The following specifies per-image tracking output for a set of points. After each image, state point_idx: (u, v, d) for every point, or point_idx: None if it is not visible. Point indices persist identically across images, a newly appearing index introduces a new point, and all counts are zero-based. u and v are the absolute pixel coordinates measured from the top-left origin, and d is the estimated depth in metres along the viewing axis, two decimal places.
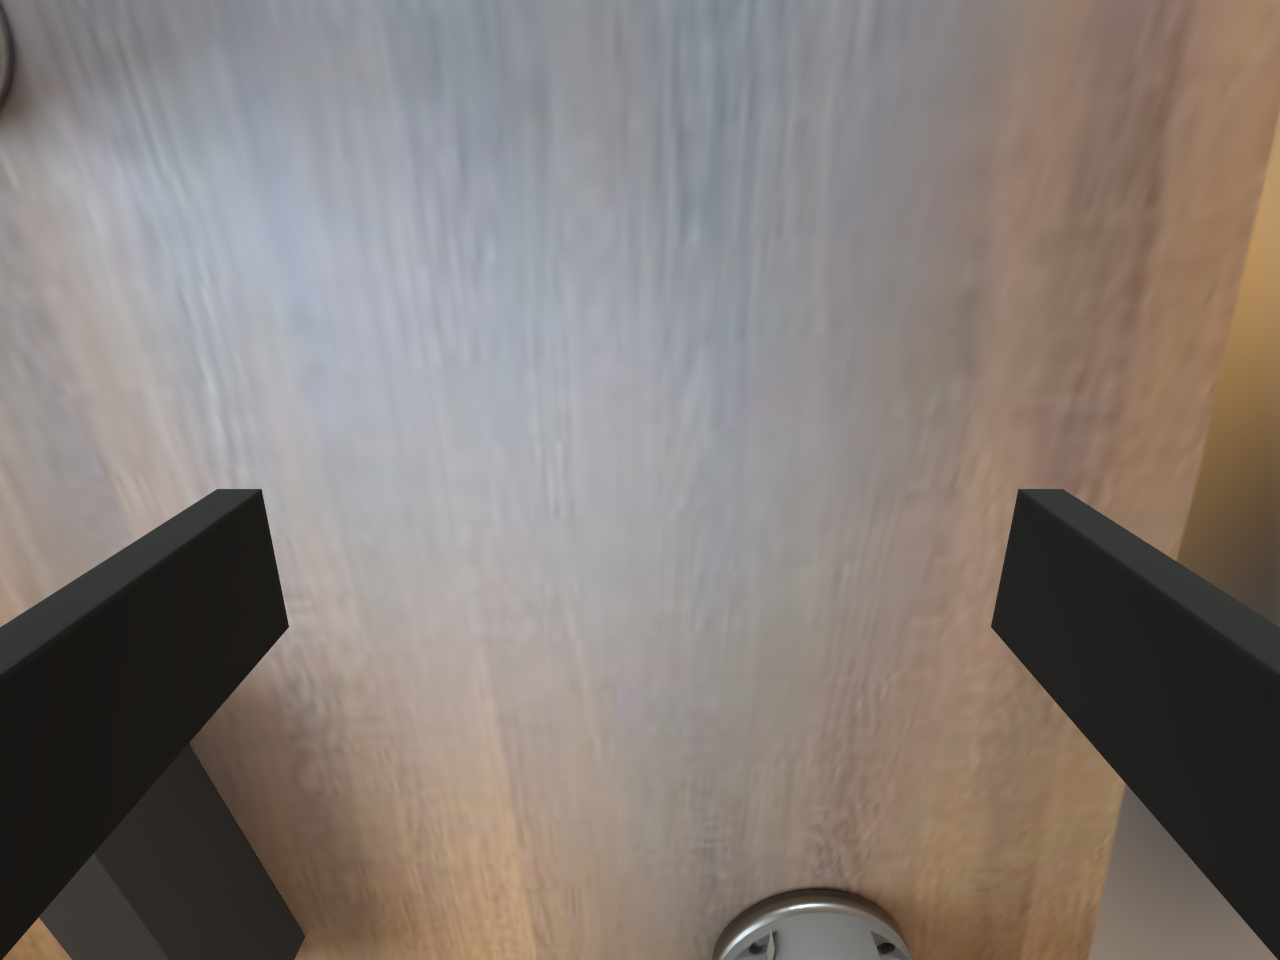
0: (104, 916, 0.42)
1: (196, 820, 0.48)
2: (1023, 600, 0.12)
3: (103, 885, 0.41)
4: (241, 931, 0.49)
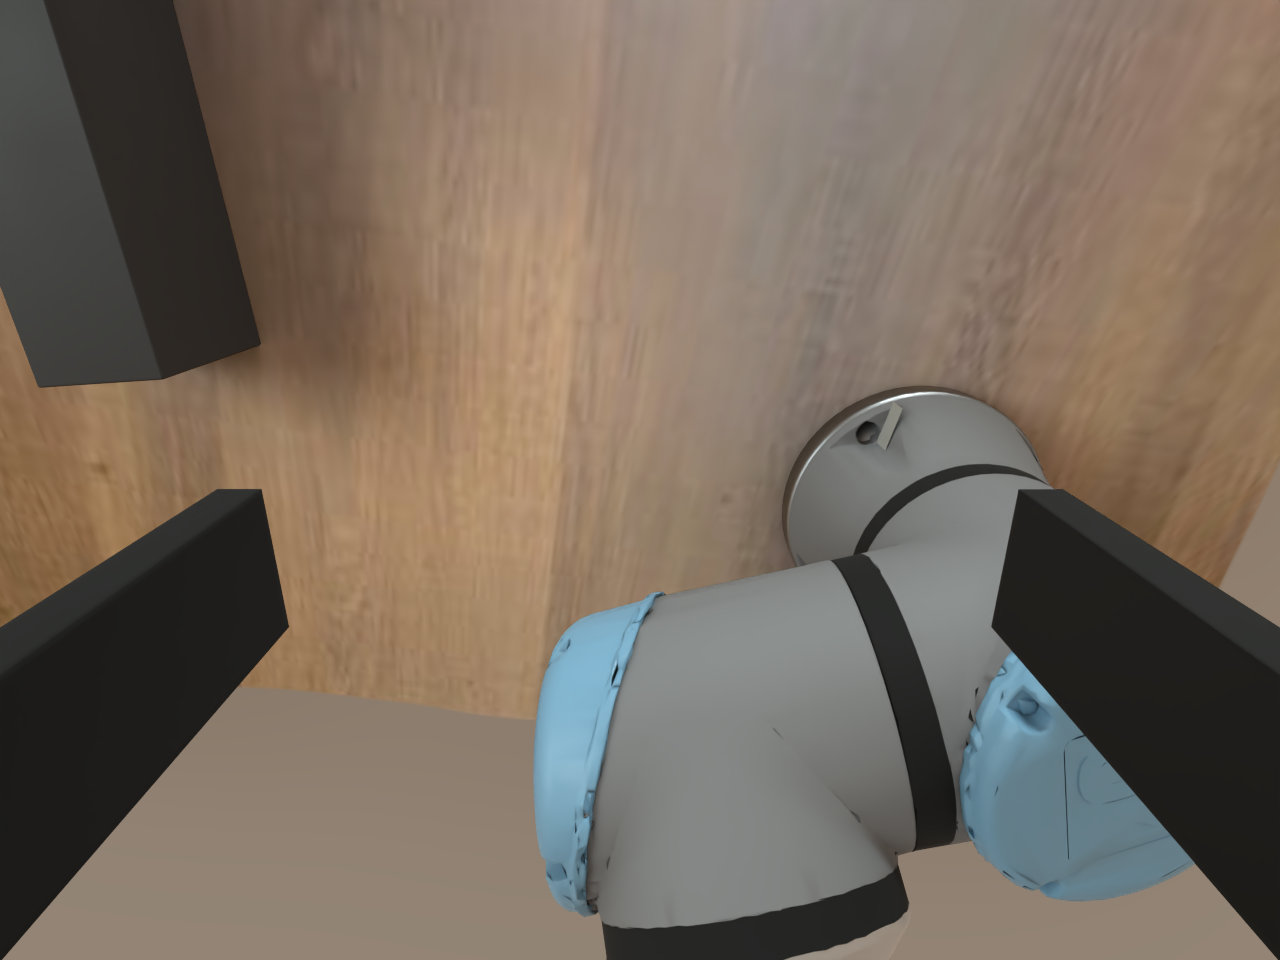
0: None
1: (152, 34, 0.33)
2: (1023, 600, 0.12)
3: None
4: (185, 231, 0.34)
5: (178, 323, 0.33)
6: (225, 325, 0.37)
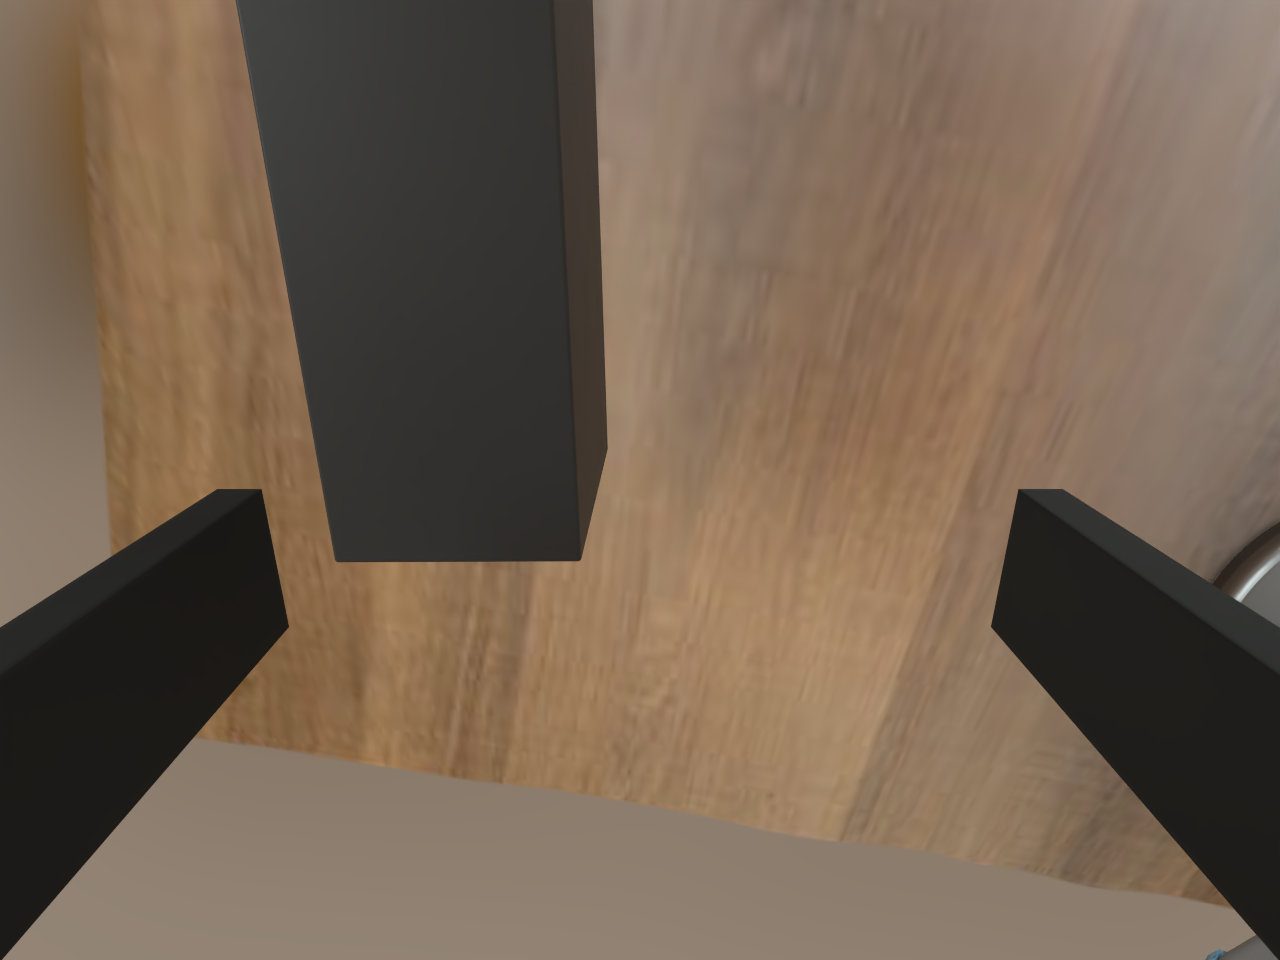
0: None
1: None
2: (1023, 600, 0.12)
3: None
4: (589, 272, 0.19)
5: (586, 445, 0.18)
6: (599, 430, 0.21)
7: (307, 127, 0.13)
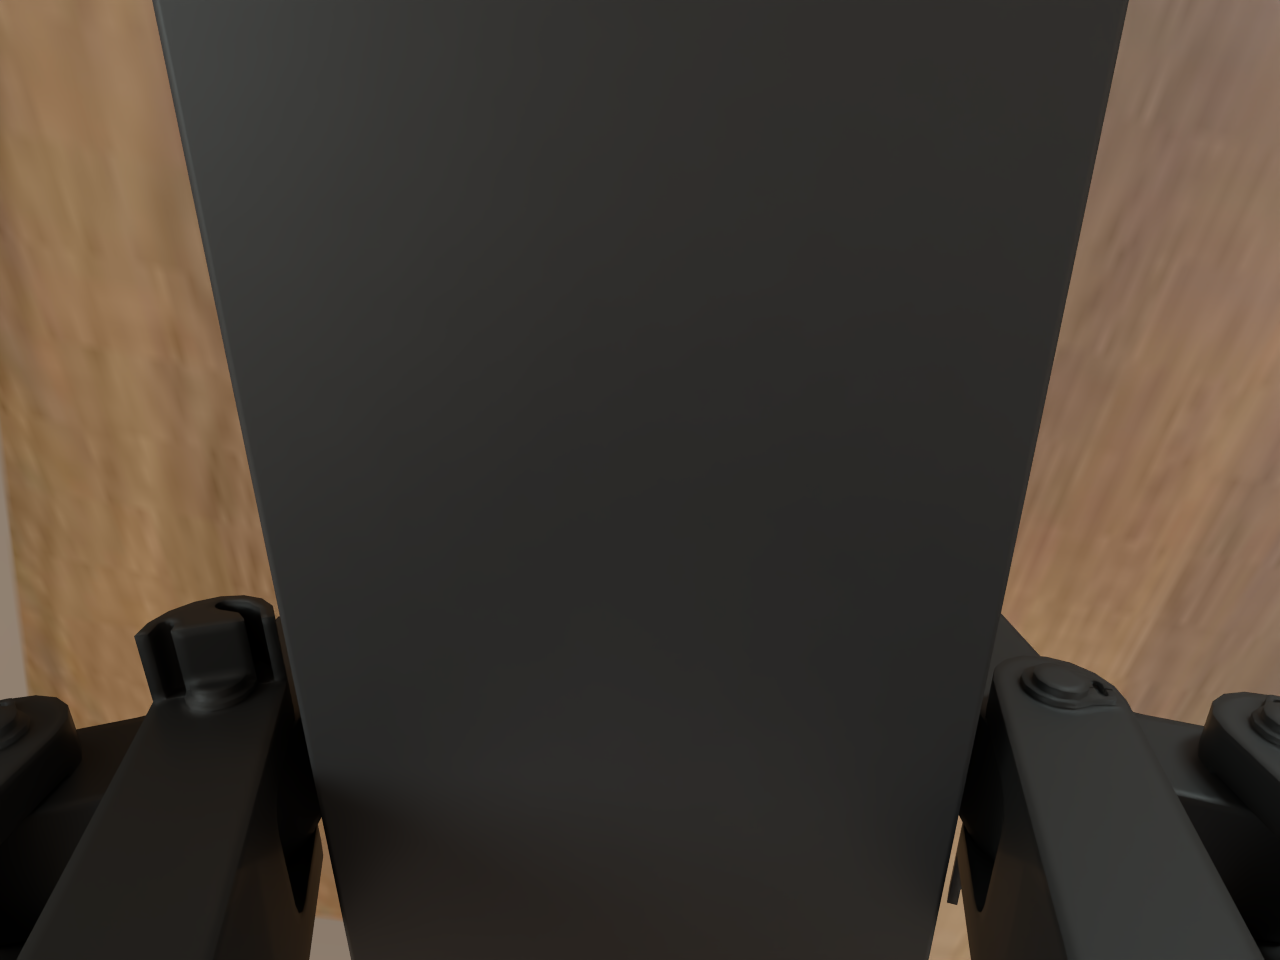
0: None
1: None
2: None
3: None
4: None
5: None
6: None
7: (330, 118, 0.04)
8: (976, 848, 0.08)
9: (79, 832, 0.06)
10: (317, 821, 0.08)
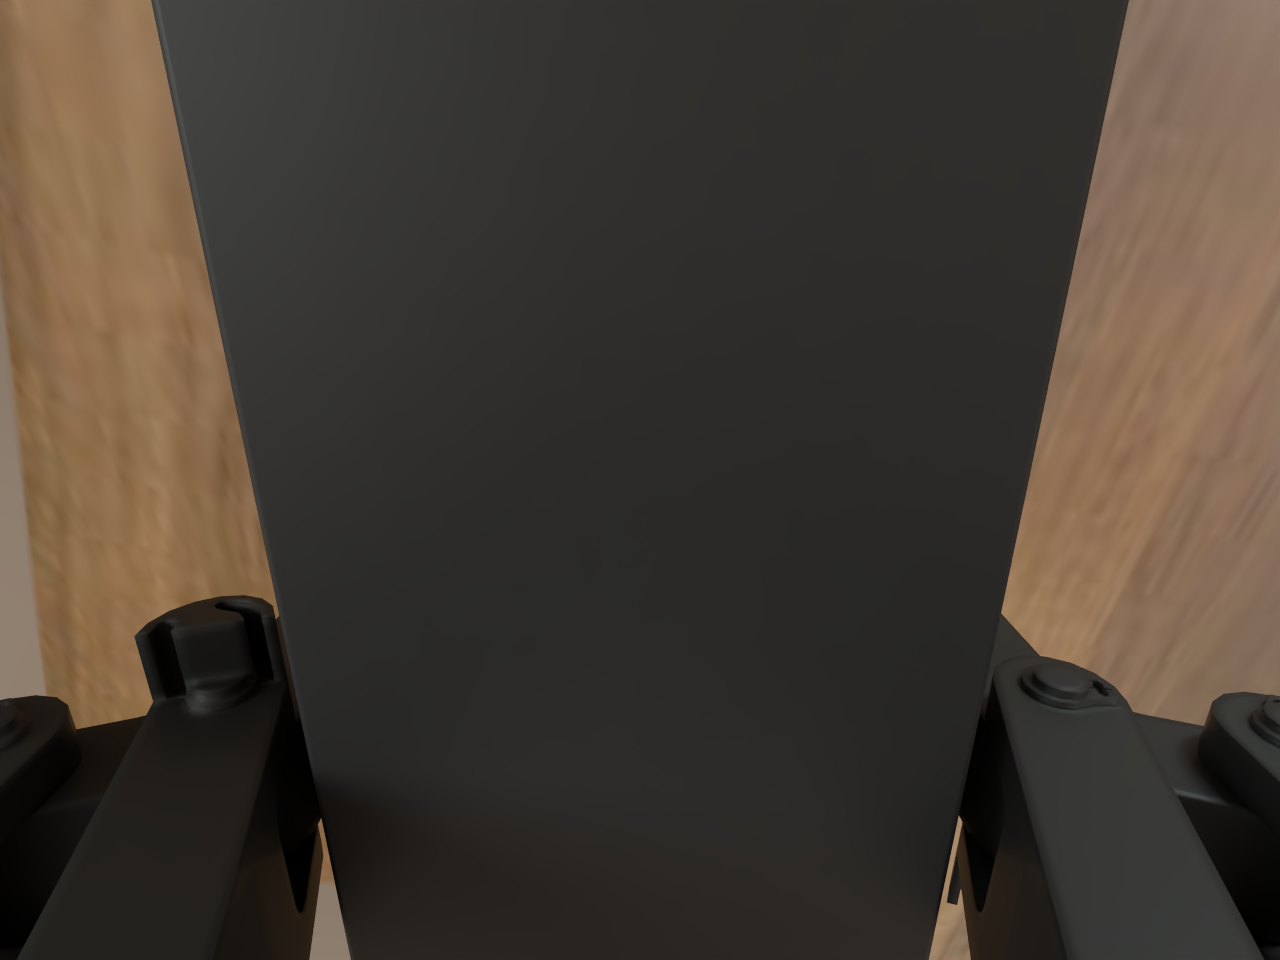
0: None
1: None
2: None
3: None
4: None
5: None
6: None
7: (329, 118, 0.04)
8: (976, 848, 0.08)
9: (79, 832, 0.06)
10: (317, 821, 0.08)
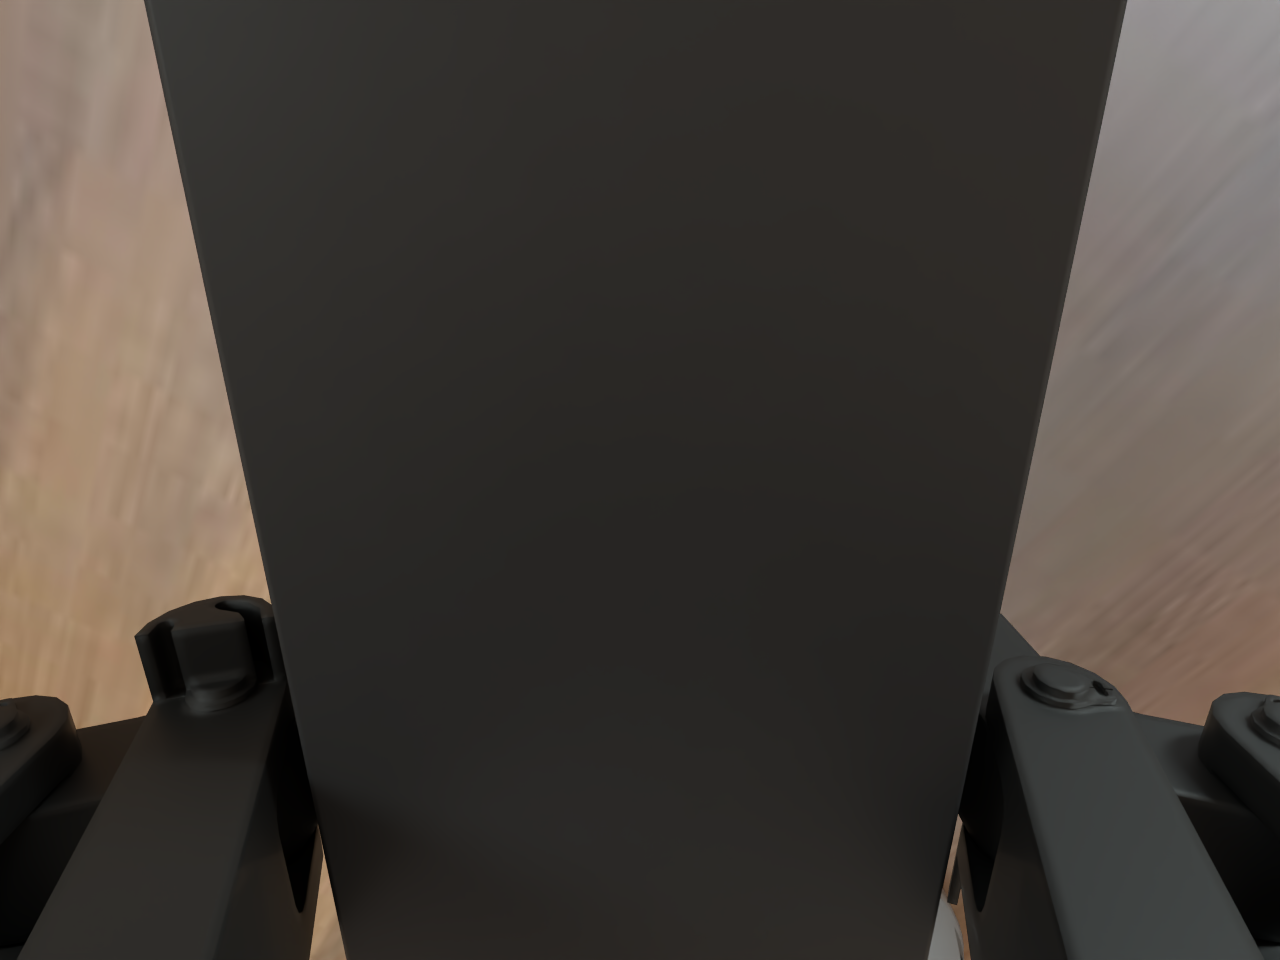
0: None
1: None
2: None
3: None
4: None
5: None
6: None
7: (322, 110, 0.04)
8: (976, 848, 0.08)
9: (79, 832, 0.06)
10: None
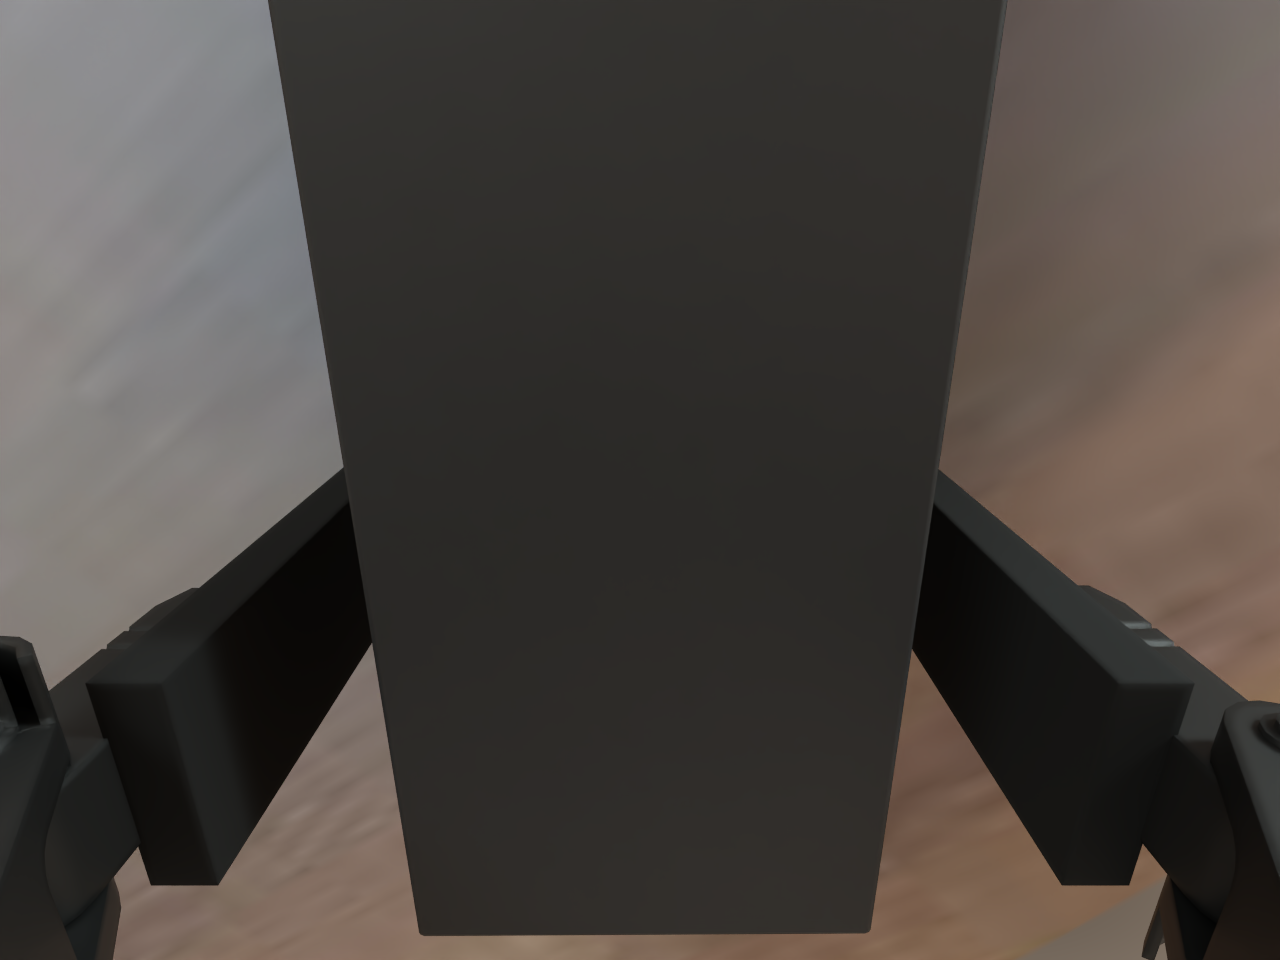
0: None
1: None
2: None
3: None
4: None
5: None
6: None
7: (406, 145, 0.06)
8: (1187, 903, 0.07)
9: None
10: (109, 872, 0.07)
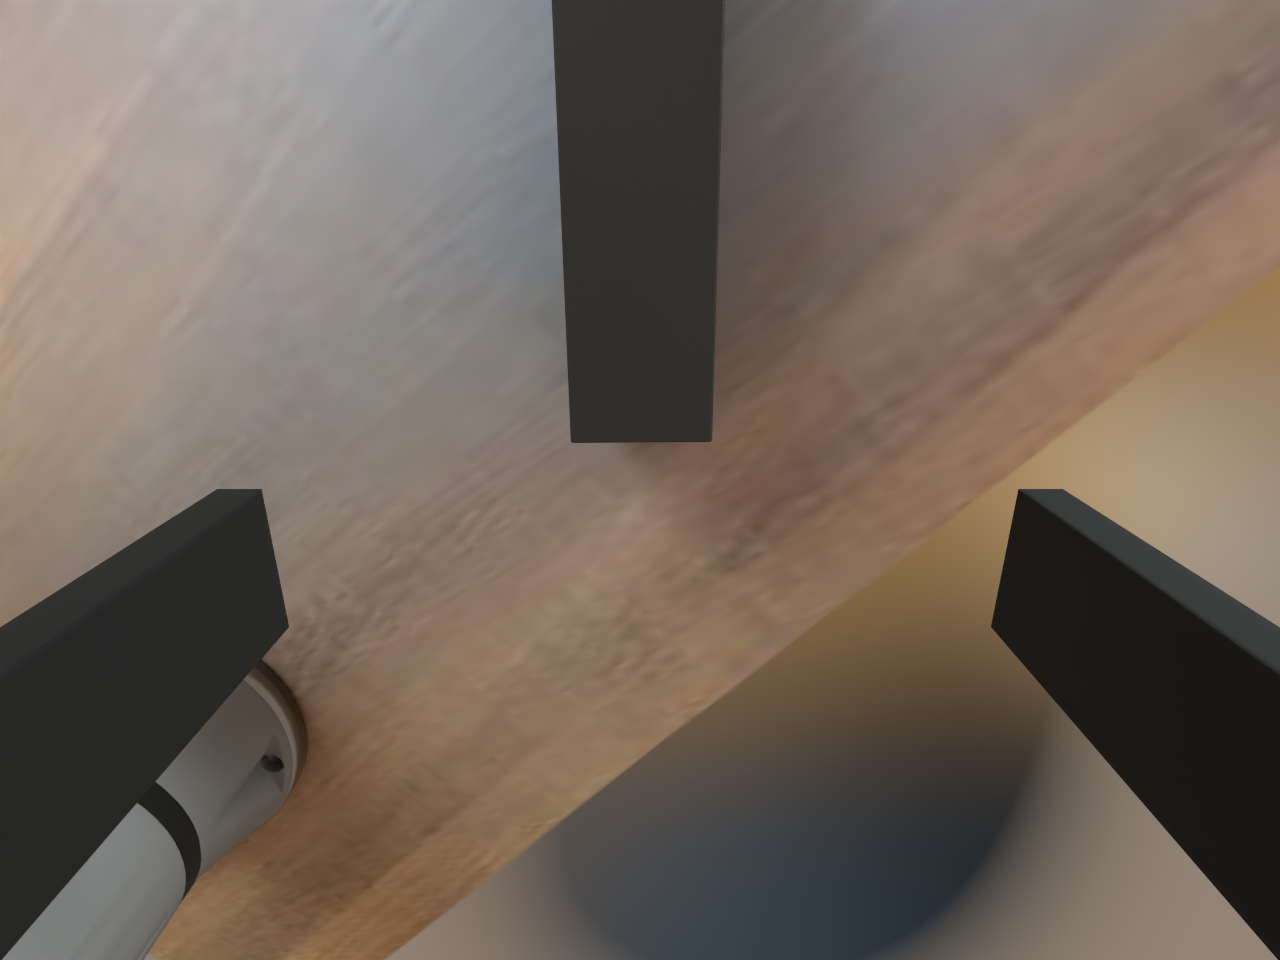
0: (666, 31, 0.24)
1: None
2: (1023, 600, 0.12)
3: None
4: None
5: None
6: None
7: (587, 203, 0.26)
8: None
9: None
10: None
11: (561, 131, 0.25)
